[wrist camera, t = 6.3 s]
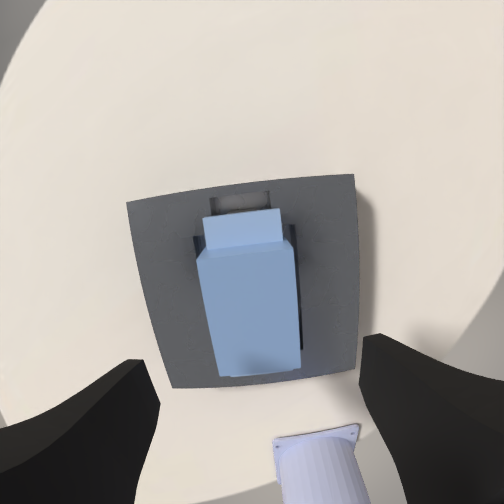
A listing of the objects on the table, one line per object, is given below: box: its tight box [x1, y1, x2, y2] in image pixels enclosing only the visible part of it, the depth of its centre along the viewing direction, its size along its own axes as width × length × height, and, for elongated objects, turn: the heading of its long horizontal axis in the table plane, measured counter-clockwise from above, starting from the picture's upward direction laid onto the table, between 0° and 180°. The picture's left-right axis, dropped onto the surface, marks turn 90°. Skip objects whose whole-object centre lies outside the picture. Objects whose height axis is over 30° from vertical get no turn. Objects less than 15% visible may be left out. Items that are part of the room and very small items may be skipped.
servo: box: [196, 208, 301, 377], centre depth 14 cm, size 9×4×5 cm, turn 7°
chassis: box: [126, 174, 359, 388], centre depth 16 cm, size 12×12×2 cm
